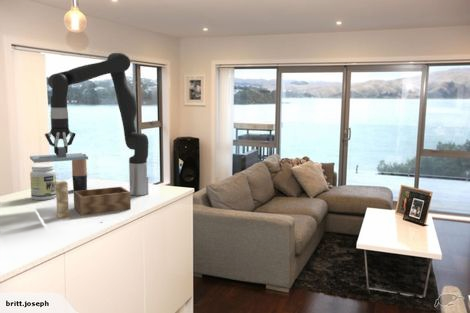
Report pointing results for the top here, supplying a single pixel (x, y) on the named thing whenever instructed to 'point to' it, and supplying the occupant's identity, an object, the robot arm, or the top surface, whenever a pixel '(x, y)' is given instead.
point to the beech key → (62, 199)
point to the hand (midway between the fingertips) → (61, 154)
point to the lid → (58, 156)
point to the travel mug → (79, 175)
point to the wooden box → (101, 200)
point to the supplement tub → (43, 182)
